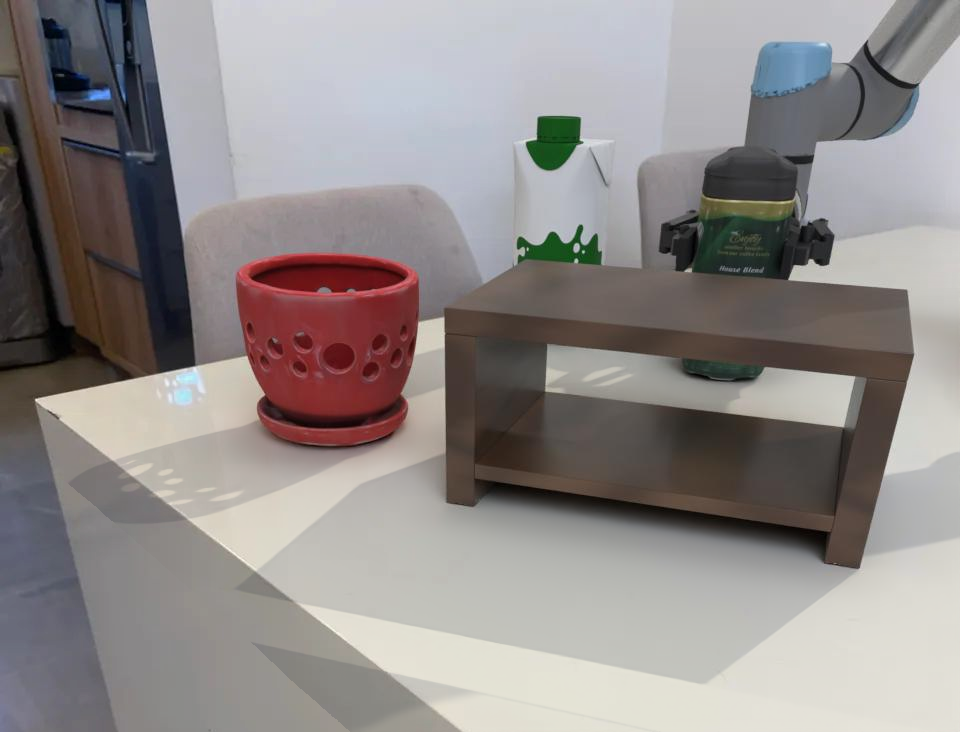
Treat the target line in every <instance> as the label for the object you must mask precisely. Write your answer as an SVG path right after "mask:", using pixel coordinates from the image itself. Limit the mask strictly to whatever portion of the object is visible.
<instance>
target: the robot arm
mask: <svg viewBox="0 0 960 732" xmlns="http://www.w3.org/2000/svg"><path fill="white" fill-rule="evenodd" d="M959 37H960V0H895V1H894V3H893V4H892V5H891V6H890V8H889V10H888V11H887V12H886V13H885V15H884V16H883V18H882V19H881V20H880V22H879V23H878V24H877V26H876V27H875V28H874V29H873V31H872V33H871V34H870V35H869V36H868V38H867V39H866V41H865V42H864V43H863V45H862V46H861V47H860V48H859V50H858V51H857V52H856V53H855V54H854V56H853V58H852V59H851V60H850V61H849V62H833V61H832V60H833V47H832V45H831V44H830V43H829V42H827V41H769V42H767V43H765V44H763V46H761V48H760V50H759V52H758V53H757V54H758V55H757V60H756V65H755V68H754V74H753V78H752V80H753V81H752V84H751V85H750V101H749V106H748V107H749V108H748V115H747V122H746V130H745V137H744V145H743V146H759V147H766V148H770V149H774V150H776V152H777V154H779V155H780V156H782V157H784V158H786V159H787V160H789V161H791V162H792V163H793V164H794V165H795V166H796V167H797V168H798V176H797V185H796V194H795V197H794V198H795V201H794V206H793V213H792V219H791V226H790V232H789V238H788V240H787V242H786V244H785V247H784V252H783V258H782V264H781V270H780V276H779V279H780V280H789V279H790V276H791V274H792V271H793V269H794V267H795V266H798V267H799V266H800V267H805V266H807V265H808V264H809V262H810V260H813V262H814V264H815V265H818V266H819V267H827V266H829V265H830V262H831V258H832V253H833V247H834V243H835V242H834V241H835V237H836V234H834V232H833V231H832V230H831V228H830V227H828V226H829V219H826V218H824V217H819V218H817V219H814V220H812V219H811V220H807V223H806V225H801V223H802V220H803V219H804V218H805V215H806V212H807V207H808V201H809V193H808V191H809V187H810V186H809V185H810V180H811V175H812V173H811V172H812V168H813V163H814V159H815V153H816V148H817V143H820V142H821V143H822V142H833V141H834V142H835V141H836V142H837V141H864V142H865V141H872V140H876V139H879V138H884V137H889V136H892V135H894V134H896V133H898V132H900V131H901V130H902V129H903V128H904V127H905V126H906V125H907V124H908V123H909V121H910V120H911V119H912V117H913V116H914V114H915V110H916V108H917V104H918V102H919V98H920V84H921V83H922V82H923V80H924V79H925V78H926V77H927V76H928V74H929V73H930V71H931V70H932V69H933V68H934V67H935V66H936V65H937V64H938V62H939V61H940V60H941V58H942V57H943V56H944V55H945V54H946V52H947V51H948V50H949V49H950V48H951V46H953V44H954V43H955V41H956V40H957V39H958V38H959ZM698 218H699V211H697V210H696V209H690V210H686V211H685V214H683V215H680V216H677V217H675V218H673V219H670V220H667V221H664V222H662V223H661V225H660V233H659V234H660V235H659V244H658V252H659V253H660V254H663V255H667V254H670V256H672V257H673V256H674V257H675V267H674V268H675V269H674V271H680V272H686V270H687V269H688V268H689V267H690V266H691V265H692V264H693V256H694V249H695V241H696V233H697V226H698Z"/></svg>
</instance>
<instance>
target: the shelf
mask: <svg viewBox="0 0 960 732" xmlns="http://www.w3.org/2000/svg"><path fill="white" fill-rule="evenodd" d="M443 320H444V321H443V322H444V324H443V325H444V328H443V329H444V330H443V331H444V409H445V410H444V411H445V412H444V414H445V422H444V423H445V489H446V490H445V501H446V503H449V502H450V503H449V504H455V503H458V504H457V505H461V504H466V505H465V506H467V505H471V506H470V507H475V506H476V505H477V504H478V503H479V501H480V500H481V499H482V498H483V497H484V496H485V495H486V493H488V491H489V490H491V488H492V487H493V486H494V485H495V483H503V484H508V485H509V484H510V485H516V486H521V487H522V486H523V487H528V488H529V487H530V488H536V489H543V490H550V491H555V492H562V493H569V494H574V495H575V494H576V495H582V496H587V497H588V496H589V497H595V498H602V499H609V500H616V501H622V502H628V503H636V504H641V505H648V506H653V507H662V508H668V509H674V510H680V511H689V512H696V513H701V514H706V515H707V514H708V515H716V516H722V517H728V518H734V519H741V520H746V521H747V520H749V521H755V522H761V523H768V524H774V525H780V526H787V527H794V528H801V529H807V530H813V531H821V532H827V533H826V542H825V550H824V560H823V561H825V562H828V563H836V564H840V565H839V566H841V565H844V566H843V567H848V568H853V567H856V568H855V569H860V568H861V565H862V561H863V558H864V553H865V550H866V545H867V542H868V537H869V533H870V530H871V526H872V522H873V518H874V514H875V510H876V507H877V502H878V498H879V496H880V495H879V494H880V490H881V487H882V483H883V479H884V475H885V472H886V467H887V463H888V458H889V455H890V451H891V447H892V443H893V440H894V437H895V432H896V428H897V424H898V420H899V417H900V413H901V408H902V404H903V400H904V397H905V393H906V390H907V385H908V380H909V377H910V373H911V369H912V365H913V362H914V358H915V349H914V348H915V347H914V339H913V329H912V328H913V327H912V318H911V310H910V300H909V290H908V289H904V288H893V287H892V288H891V287H879V286H867V285H856V284H855V285H854V284H843V283H829V282H817V281H804V280H791V279H790V280H789V279H788V280H780V279H768V278H755V277H743V276H730V275H718V274H705V273H692V271H684V272H680V271H675V270H665V269H655V268H654V269H653V268H642V267H641V268H640V267H627V266H615V265H606V264H605V265H592V264H580V263H567V262H555V261H542V260H529V259H525V260H524V261H522V262H520V263H519V264H517V265H515V266H514V267H513V266H511V268H508V269H507V270H505V271H504V272H502V273H500V274H499V275H497V276H495V277H493V278H492V279H490V280H489V281H486V282H485V283H483V284H482V285H480V286H479V287H477V288H475V289H473V290H472V291H470V292H469V293H467V294H465V295H463V296H462V297H460V298H458V299H456V300H455V301H453V302H451V303H450V304H448V305H447V306H445V307H444V308H443ZM548 345H553V346H554V345H555V346H562V347H571V348H582V349H590V350H591V349H592V350H599V351H600V350H601V351H608V352H609V351H611V352H619V353H620V352H621V353H629V354H639V355H648V356H659V357H667V358H668V357H669V358H677V359H681V358H685V359H695V360H704V361H714V362H723V363H733V364H742V365H751V366H761V367H764V368H771V369H781V370H791V371H799V372H809V373H819V374H829V375H838V376H846V377H847V376H848V377H854V379H853V384H852V389H851V393H850V398H849V402H848V407H847V410H846V415H845V420H844V424H843V426H837V425H828V424H820V423H813V422H812V423H811V422H804V421H794V420H787V419H778V418H770V417H763V416H762V417H761V416H754V415H745V414H737V413H729V412H722V411H721V412H720V411H713V410H705V409H704V410H703V409H695V408H688V407H687V408H686V407H680V406H671V405H663V404H654V403H646V402H637V401H630V400H629V401H628V400H621V399H614V398H613V399H612V398H604V397H597V396H596V397H595V396H588V395H578V394H572V393H564V392H555V391H546V385H547V384H546V383H547V364H548V363H547V362H548ZM491 486H492V487H491ZM484 494H485V495H484ZM483 495H484V496H483ZM482 496H483V497H482ZM479 499H480V500H479ZM476 503H477V504H476ZM475 504H476V505H475ZM474 505H475V506H474ZM828 563H827V564H828Z"/></svg>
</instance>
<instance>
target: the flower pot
mask: <svg viewBox="0 0 960 732" xmlns="http://www.w3.org/2000/svg"><path fill="white" fill-rule="evenodd" d="M322 288H323V289H324V288H326V289H328V290H330V292H321V291H320V292H319V290H320V289H322ZM235 289H236V290H235V291H236V303H237V309H238V316H239V320H240V325H241V330H242V335H243V341H244V349H245V352H246V357H247V359H248V362H249V365H250V368H251V370H252V373H253V375H254V378H255V380H256V381H257V383H258V385H259V387H260V389H261V390H262V392H263V393H264V395H263V396H262V397H261V398H260V399H259V400H258V401H257V403H256V413H257V416H258V417H259V419H260V421H261V423H262V425H263V426H264V427H265V428H266V429H267V430H269V431H270V432H271V433H272V434H273V435H276V436H277V437H279V438H282V439H284V440H287V441H289V442H293V443H297V444H303V445H310V446H320V447H347V446H355V445H356V446H357V445H361V444H364V443H369V442H373V441H376V440H378V439H381V438H384V437H386V436H388V435H390V434H391V433H393V432H394V431H396V430H397V429H398V428H399V427H400V426H401V425H402V424H403V423H404V421H405V420H406V418H407V415H408V412H409V404H408V401H407V399H406V398H405V397H404V396H403V395H402V392H403V390H404V388H405V386H406V384H407V382H408V378H409V376H410V373H411V370H412V366H413V363H414V357H415V352H416V346H417V339H418V331H419V319H420V318H419V317H420V315H419V314H420V279H419V275H418V273H417V272H416V270H414V269H413V268H412V267H410V266H408V265H406V264H403V263H402V262H398V261H395V260H392V259H388V258H383V257H378V256H371V255H366V254H365V255H364V254H353V253H340V252H339V253H338V252H299V253H288V254H281V255H280V254H279V255H273V256H269V257H264V258H260V259H256V260H253V261H251V262H248V263H246V264H244V265H243V266H241V267H240V268H239V269H238V270H237V272H236V274H235ZM349 290H353V291H349ZM300 333H301V334H300ZM299 334H300V335H299ZM274 339H275V340H277V341H276V342H275V341H274Z"/></svg>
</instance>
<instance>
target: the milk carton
mask: <svg viewBox="0 0 960 732" xmlns="http://www.w3.org/2000/svg"><path fill="white" fill-rule="evenodd" d="M536 119H537V120H536V121H537V123H536V137H535V136H534V137H529V138H528V139H522V140H518V141H515V142H512V144H513V147H512V148H513V172H514V173H513V175H514V176H513V177H514V178H513V179H514V196H513V197H514V199H513V236H512V237H513V238H512V240H513V241H512V267H514V266H515V265H517V264H519V263H520V262H522V261H524V260H525V259H529V260H542V261H555V262H567V263H580V264H592V265H605V266H606V255H607V254H606V252H607V239H608V225H609V213H610V200H611V199H610V197H611V196H610V195H611V184H612V175H613V165H614V157H615V147H616V140H613V139H612V140H611V139H592V138H582V137H581V131H582V130H581V127H582V117H580V116H572V115H540V116H537V118H536Z"/></svg>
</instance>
